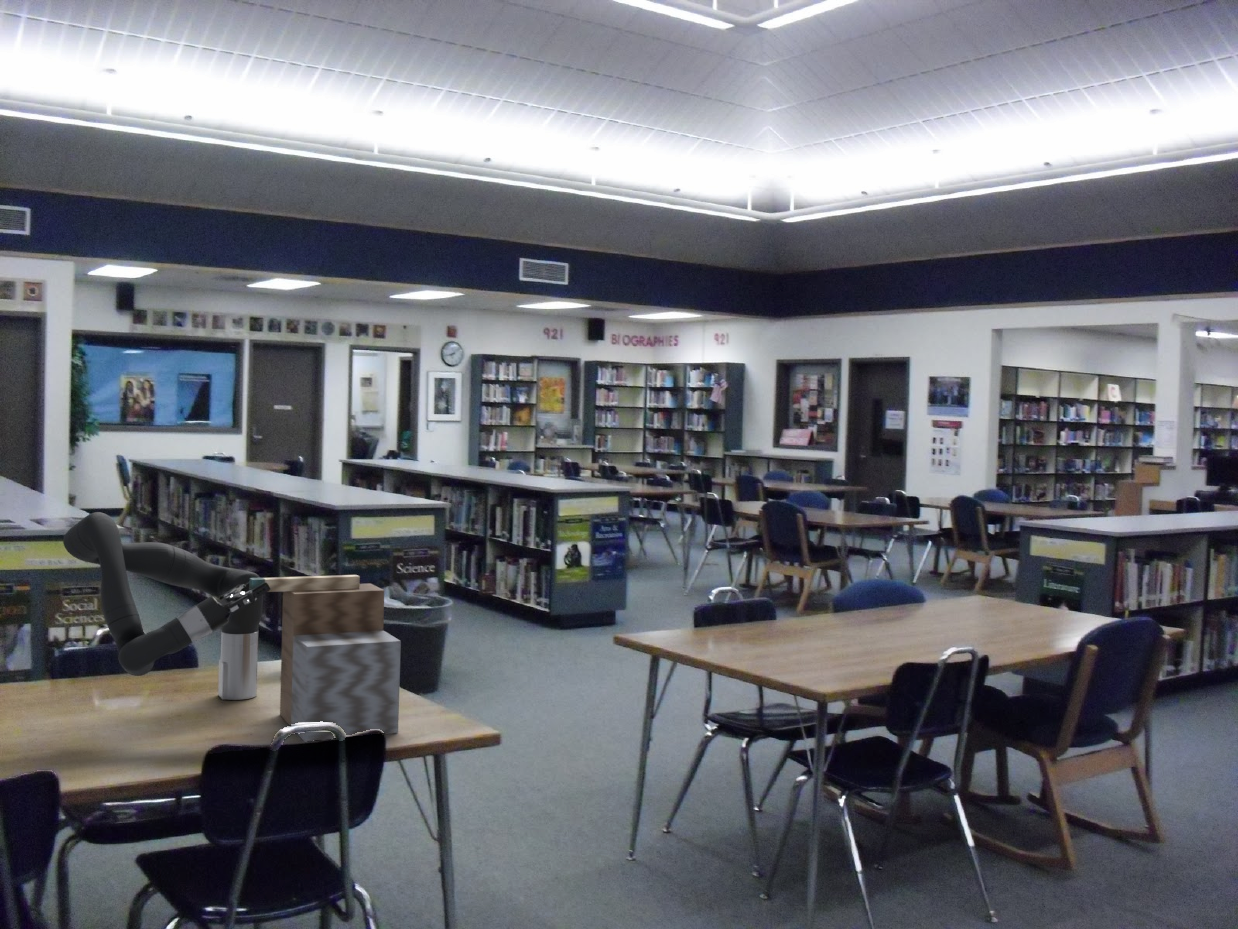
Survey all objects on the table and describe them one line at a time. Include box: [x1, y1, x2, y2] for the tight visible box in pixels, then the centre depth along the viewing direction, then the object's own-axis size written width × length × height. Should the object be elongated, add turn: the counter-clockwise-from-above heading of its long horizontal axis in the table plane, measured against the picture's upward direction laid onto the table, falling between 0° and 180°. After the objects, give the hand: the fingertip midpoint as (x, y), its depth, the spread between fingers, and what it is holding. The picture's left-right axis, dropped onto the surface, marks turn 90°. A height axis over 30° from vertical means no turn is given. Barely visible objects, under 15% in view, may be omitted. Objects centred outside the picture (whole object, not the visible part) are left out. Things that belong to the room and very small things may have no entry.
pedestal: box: [279, 582, 402, 743], centre depth 278 cm, size 22×26×32 cm
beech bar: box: [249, 574, 361, 593], centre depth 280 cm, size 26×3×3 cm, turn 119°
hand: (264, 582), depth 276 cm, fingers open, 8 cm apart
